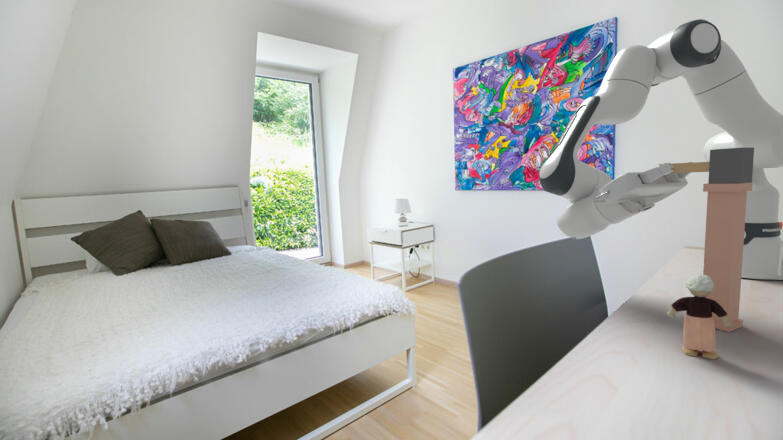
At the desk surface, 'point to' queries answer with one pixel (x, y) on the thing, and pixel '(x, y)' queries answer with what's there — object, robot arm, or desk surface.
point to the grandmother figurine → (699, 317)
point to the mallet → (723, 166)
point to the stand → (725, 247)
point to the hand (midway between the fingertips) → (682, 165)
